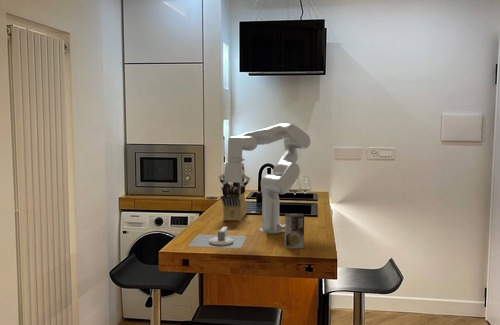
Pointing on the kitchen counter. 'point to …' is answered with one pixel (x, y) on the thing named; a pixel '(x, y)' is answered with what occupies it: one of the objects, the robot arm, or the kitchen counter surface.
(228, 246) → the dial board
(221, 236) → the dial
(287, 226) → the coffee box
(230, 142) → the robot arm
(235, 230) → the kitchen counter surface
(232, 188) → the knife block
